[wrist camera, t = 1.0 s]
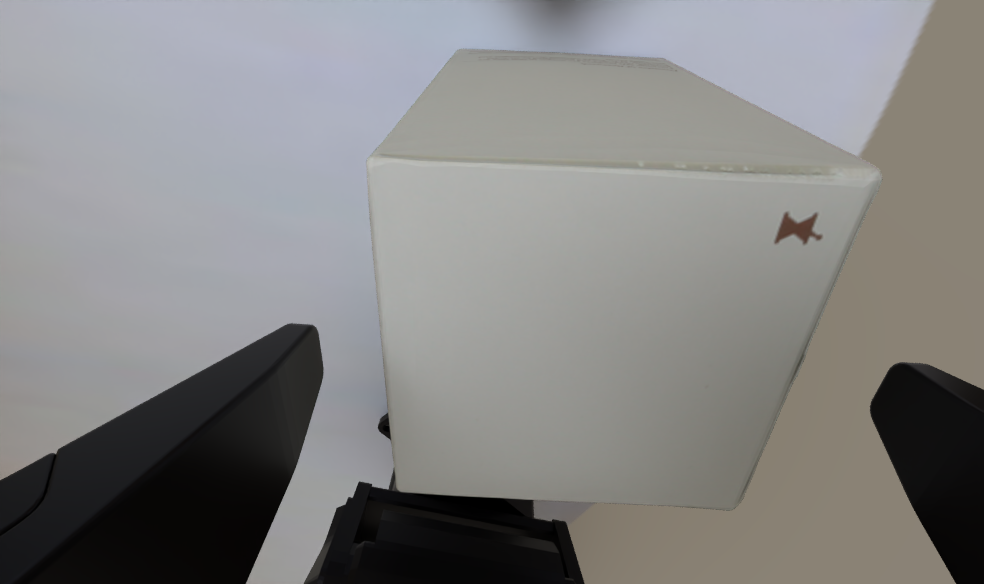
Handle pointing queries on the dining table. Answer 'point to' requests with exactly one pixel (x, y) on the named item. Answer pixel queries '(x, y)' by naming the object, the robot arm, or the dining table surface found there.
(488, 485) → the supplement box
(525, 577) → the robot arm
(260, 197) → the dining table surface
